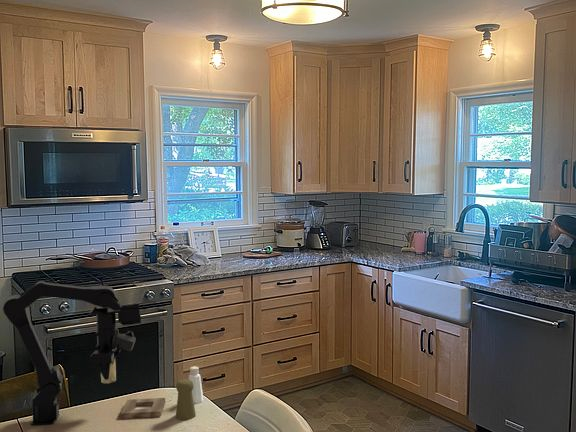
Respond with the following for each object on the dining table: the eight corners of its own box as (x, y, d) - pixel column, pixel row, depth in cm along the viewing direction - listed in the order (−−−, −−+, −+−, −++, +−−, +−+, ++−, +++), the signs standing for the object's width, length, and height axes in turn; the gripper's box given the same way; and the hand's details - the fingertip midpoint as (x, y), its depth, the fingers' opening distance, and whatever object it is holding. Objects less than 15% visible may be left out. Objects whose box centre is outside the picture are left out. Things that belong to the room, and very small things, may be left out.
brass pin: (99, 383, 176) (98, 362, 175) (103, 378, 180) (102, 358, 180) (114, 383, 176) (113, 362, 176) (117, 378, 181) (116, 357, 180)
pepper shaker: (191, 420, 171) (190, 384, 171) (172, 419, 173) (171, 383, 172) (198, 412, 177) (197, 377, 177) (180, 411, 179) (179, 376, 178)
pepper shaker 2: (183, 402, 186) (182, 368, 185) (193, 396, 191) (192, 363, 190) (196, 404, 183) (195, 371, 183) (206, 399, 188) (206, 366, 188)
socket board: (120, 418, 174) (120, 413, 174) (127, 404, 185) (127, 399, 185) (160, 416, 175) (160, 411, 175) (165, 402, 186) (165, 397, 186)
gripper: (127, 334, 169) (129, 386, 170) (138, 319, 187) (139, 366, 188) (88, 335, 168) (90, 388, 169) (103, 320, 186) (105, 367, 187)
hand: (108, 376), depth 178 cm, fingers closed on brass pin, 4 cm apart
